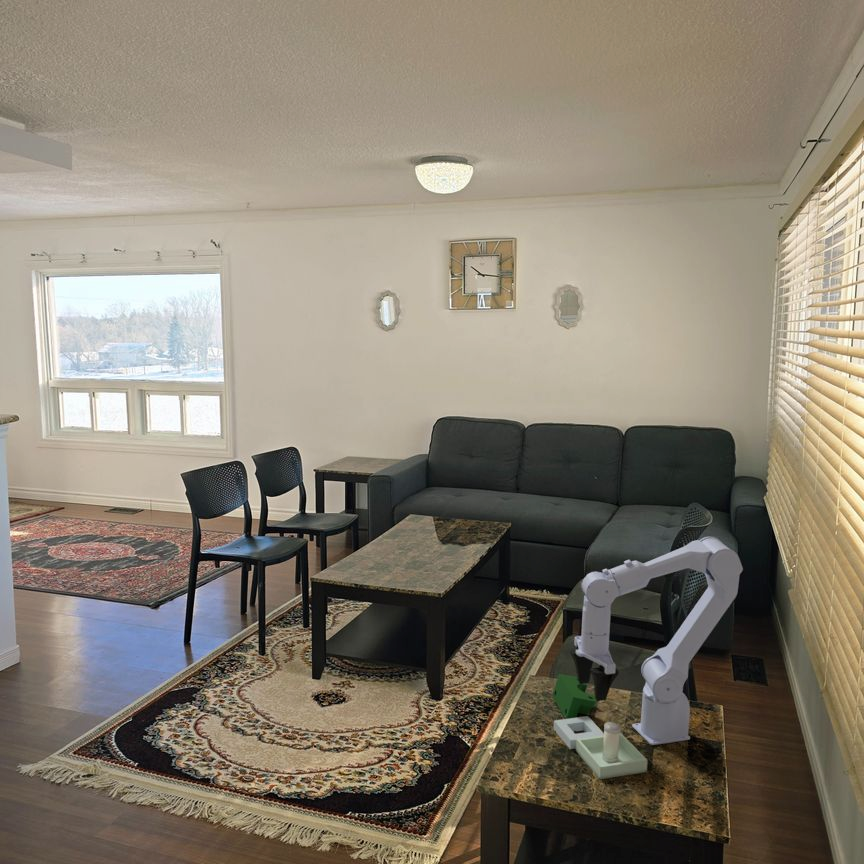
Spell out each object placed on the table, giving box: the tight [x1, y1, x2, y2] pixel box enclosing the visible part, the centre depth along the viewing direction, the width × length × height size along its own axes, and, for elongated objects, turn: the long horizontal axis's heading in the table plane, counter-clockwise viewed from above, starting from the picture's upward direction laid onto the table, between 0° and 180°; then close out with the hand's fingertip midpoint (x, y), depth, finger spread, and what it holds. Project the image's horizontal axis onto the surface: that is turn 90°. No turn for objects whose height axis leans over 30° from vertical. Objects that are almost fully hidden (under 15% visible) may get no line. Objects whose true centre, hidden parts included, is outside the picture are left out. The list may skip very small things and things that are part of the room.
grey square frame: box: [553, 715, 604, 750], centre depth 164 cm, size 8×8×2 cm
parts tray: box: [575, 732, 648, 780], centre depth 155 cm, size 10×10×2 cm
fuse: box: [602, 721, 621, 763], centre depth 154 cm, size 3×3×7 cm
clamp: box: [552, 673, 598, 719], centre depth 175 cm, size 12×6×9 cm, turn 0°
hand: (592, 691), depth 164 cm, fingers open, 7 cm apart
